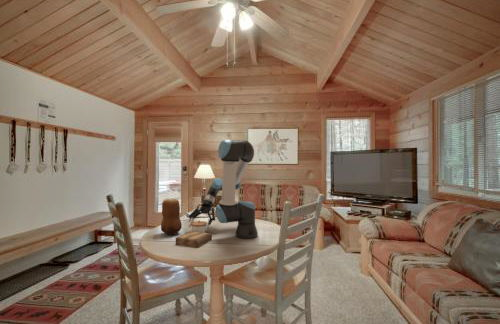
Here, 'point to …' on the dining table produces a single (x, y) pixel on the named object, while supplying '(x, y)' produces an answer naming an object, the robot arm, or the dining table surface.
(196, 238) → the plinth
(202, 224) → the lidded jar
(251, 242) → the dining table surface
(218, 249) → the dining table surface
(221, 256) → the dining table surface
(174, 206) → the butternut squash
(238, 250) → the dining table surface
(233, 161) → the robot arm
